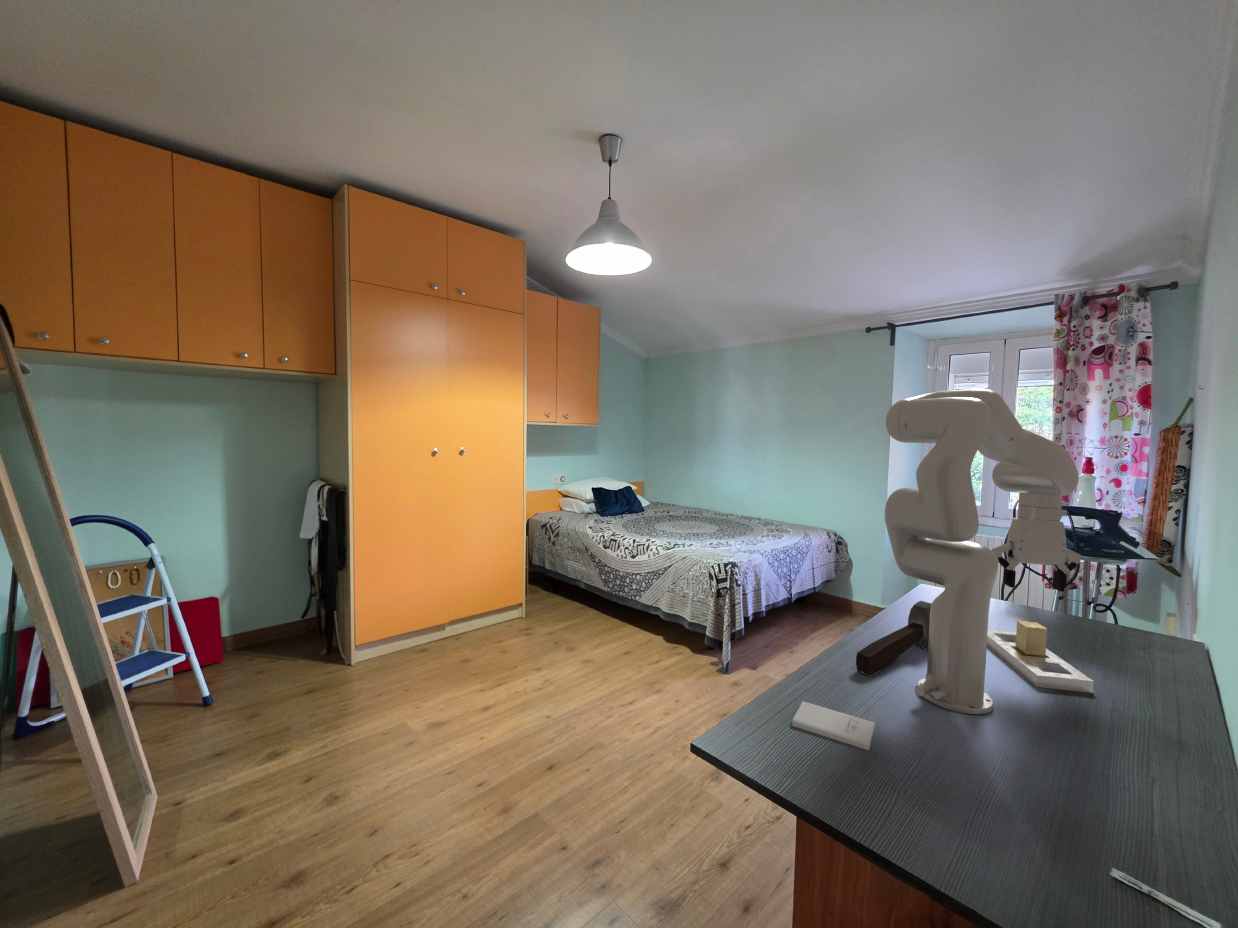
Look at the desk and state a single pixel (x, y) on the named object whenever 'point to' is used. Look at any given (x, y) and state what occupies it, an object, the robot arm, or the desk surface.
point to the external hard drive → (834, 725)
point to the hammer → (896, 641)
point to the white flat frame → (1039, 665)
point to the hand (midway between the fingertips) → (1033, 587)
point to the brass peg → (1031, 639)
